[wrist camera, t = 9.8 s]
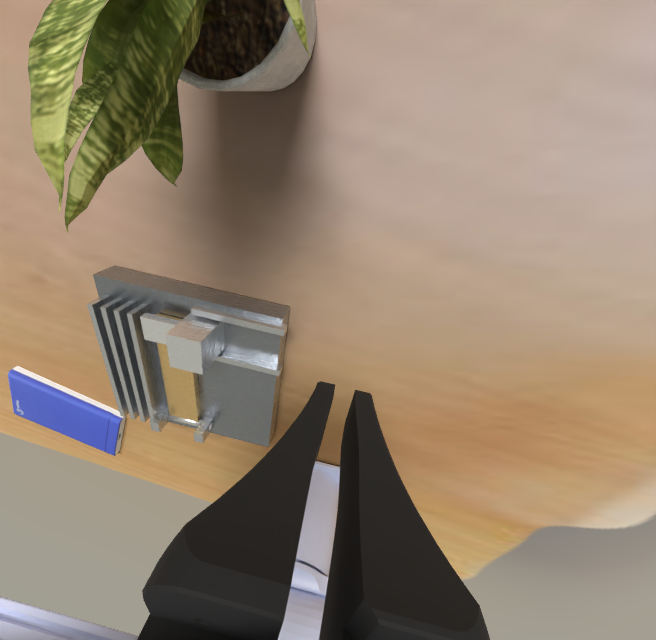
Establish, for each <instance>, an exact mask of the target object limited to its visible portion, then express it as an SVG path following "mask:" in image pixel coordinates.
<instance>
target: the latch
mask: <svg viewBox="0 0 656 640" xmlns="http://www.w3.org/2000/svg"><path fill="white" fill-rule="evenodd" d="M140 319H141V324H142V329H143V335H144V339H145V340H149V341H153V342H157V343H161V344H165V345H167V350H168V357H169V364H170V367H173V368H177V369H181V370H186V371H190V372H194V373H198V374H202V375H203V374H204V373H205V371H206V370H207V369H208V368H209V366H210V365H211V364H212V363H213V361H214V360H215V359H216V358H217V356H218V355H219V354H220V353H221V351H222V350H223V349H224V322H221V321H217V320H213V319H209V318H205V317H200V316H196V315H192V313H190V314H188V315H187V316H186V317H185V318H184V319H182V320H181V321H179V320H174V319H170V318H166V317H162V316H158V315H154V314H149V313H145V314H143V315H142V316H140Z"/></svg>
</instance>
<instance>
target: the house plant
mask: <svg viewBox="0 0 656 640" xmlns="http://www.w3.org/2000/svg"><path fill="white" fill-rule="evenodd" d="M106 1H107V0H53V1H52V2H51V3H50V5H49V6H48V7H47V9H46V10H45V12H44V14H43V16H42V19H41V21H40V23H39V25H38V27H37V29H36V31H35V33H34V35H33V37H32V39H31V41H30V44H29V61H28V71H29V79H30V87H31V126H32V133H33V139H34V146H35V151H36V153H37V155H38V156H39V158H40V160H41V162H42V164H43V166H44V168H45V170H46V171H47V173H48V175H49V177H50V179H51V181H52V183H53V185H54V187H55V189H56V190H57V192H58V194H59V211H60V206H61V201H62V196H63V186H64V162H65V161H66V160H67V158H68V156H69V154H70V152H71V150H72V148H73V146H74V145H75V143H76V141H77V140H78V138H79V136H80V134H81V132H82V131H83V130H84V128H85V127H86V126H87V125H88V123H89V122H90V121H91V120H92V119H93V117H94V119H93V121H92V123H91V125H90V127H89V129H88V131H87V134H86V136H85V138H84V140H83V142H82V144H81V146H80V149H79V151H78V154H77V156H76V159H75V162H74V164H73V167H72V170H71V172H70V175H69V183H68V193H67V201H66V209H65V224H66V228H67V232H68V225H69V224H70V223H71V222H72V221H73V220H74V219H75V218H76V217H77V216H78V215H79V214H80V213H82V212H83V211H84V210H85V209H86V208H87V207H88V205H89V203H90V201H91V200H92V198H93V196H94V194H95V192H96V191H97V189H98V188H99V186H100V184H101V183H102V181H103V180H104V178H105V176H106V175H107V174H108V173H109V172H111V171H112V170H114V169H115V168H116V167H118V166H119V165H120V164H122V163H123V162H124V161H125V160H126V159H128V158H129V157H130V156H131V155H132V154H133V153H134V152H135V151H136V150H137V149H138V148H139V147H140V146H141V145H142V148H143V150H144V152H145V154H146V155H147V157H148V158H149V159H150V161H151V162H152V164H153V165H154V166H155V168H156V169H157V170H158V171H159V172H160V173H161V174H162V175H163V176H164V177H165V178H166V179H167V180H168V181H169V182H171V183H172V184H174V185H175V186H176V184H175V183H174V182H175V180H176V179H177V177H178V176H179V174H180V173H181V171H182V163H183V142H182V132H181V123H180V115H179V107H178V93H177V83H178V79H180V80H182V81H184V82H186V83H188V84H191V85H193V86H195V87H197V88H201V89H209V90H217V91H275V90H279V89H283V88H285V87H287V86H288V85H290V84H291V83H293V82H294V81H295V80H296V79H297V78H298V77H299V76H300V75H301V74H302V72H303V71H304V69H305V67H306V65H307V63H308V62H309V60H310V58H311V54H312V51H313V47H314V43H315V37H316V23H317V20H316V6H315V0H109V1H108V2H107V4H106V5H105V6H104V4H105V2H106ZM103 6H104V8H103ZM102 8H103V9H102ZM101 10H102V11H101ZM92 28H93V29H92ZM91 31H92V32H91ZM90 33H91V35H90ZM89 35H90V37H89ZM88 37H89V40H88ZM87 40H88V44H87V48H86V52H85V56H84V60H83V76H82V82H83V85H81V86H80V87H79V88H78V89H77V90H76V92H75V95H74V97H73V99H72V102H71V95H72V89H73V83H74V77H75V72H76V70H77V67H78V64H79V61H80V58H81V55H82V52H83V49H84V47H85V44H86V42H87ZM312 60H313V59H312ZM70 102H71V104H70Z"/></svg>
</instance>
